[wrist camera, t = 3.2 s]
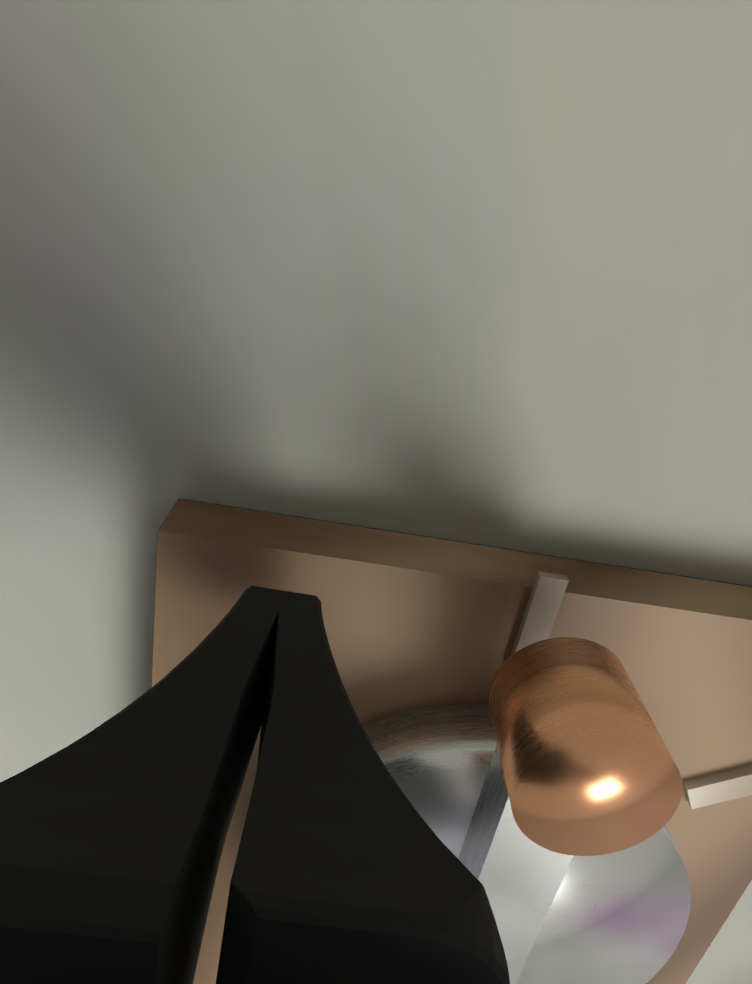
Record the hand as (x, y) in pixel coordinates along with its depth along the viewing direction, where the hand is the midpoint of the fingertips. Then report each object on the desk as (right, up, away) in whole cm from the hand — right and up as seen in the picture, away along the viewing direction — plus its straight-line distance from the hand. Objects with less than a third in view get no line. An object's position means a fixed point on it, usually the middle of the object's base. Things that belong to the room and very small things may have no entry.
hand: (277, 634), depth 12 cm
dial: (+4, -5, +4) cm, 8 cm away
